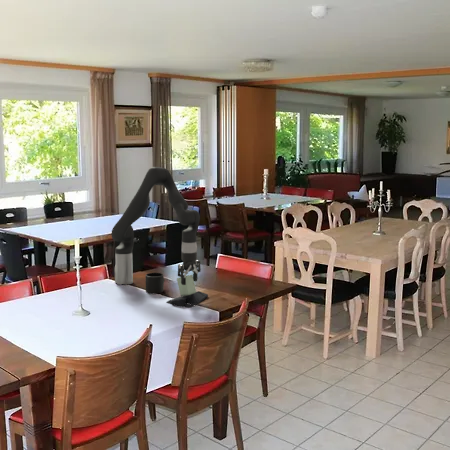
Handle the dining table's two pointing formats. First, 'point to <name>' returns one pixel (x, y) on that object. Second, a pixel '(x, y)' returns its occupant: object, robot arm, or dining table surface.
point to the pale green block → (186, 286)
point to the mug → (154, 282)
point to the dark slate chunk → (188, 300)
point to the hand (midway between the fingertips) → (189, 282)
